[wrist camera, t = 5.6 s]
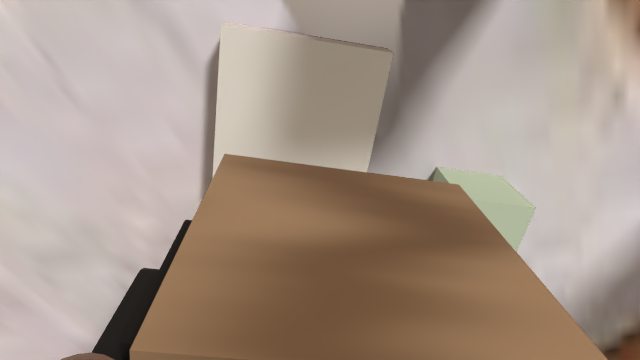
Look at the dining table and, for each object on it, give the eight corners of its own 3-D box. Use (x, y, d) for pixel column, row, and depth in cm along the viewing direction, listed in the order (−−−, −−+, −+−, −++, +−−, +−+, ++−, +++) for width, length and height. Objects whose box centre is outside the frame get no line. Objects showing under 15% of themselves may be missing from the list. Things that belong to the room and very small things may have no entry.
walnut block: (458, 184, 10) (633, 389, 5) (402, 353, 13) (478, 616, 7) (224, 153, 10) (129, 349, 4) (212, 337, 12) (140, 613, 7)
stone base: (386, 48, 26) (393, 53, 24) (355, 187, 30) (359, 203, 28) (228, 21, 25) (220, 24, 23) (219, 169, 29) (212, 184, 27)
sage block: (501, 175, 30) (535, 207, 25) (479, 232, 32) (507, 271, 27) (436, 166, 29) (459, 197, 25) (418, 224, 31) (437, 263, 27)
